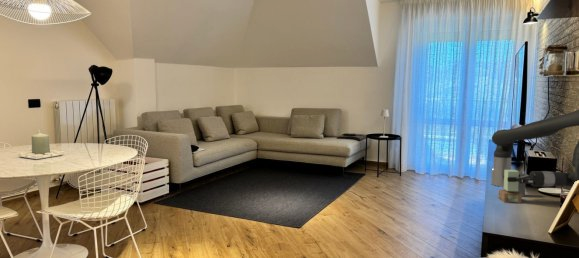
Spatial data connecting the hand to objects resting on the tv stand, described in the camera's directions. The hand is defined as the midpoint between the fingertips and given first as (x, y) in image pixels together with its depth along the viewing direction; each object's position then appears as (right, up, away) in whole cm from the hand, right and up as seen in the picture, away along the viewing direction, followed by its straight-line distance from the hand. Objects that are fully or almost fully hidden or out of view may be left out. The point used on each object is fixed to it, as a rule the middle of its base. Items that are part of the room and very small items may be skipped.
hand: (505, 178), depth 202 cm
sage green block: (+3, -6, 0) cm, 7 cm away
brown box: (+3, -12, +2) cm, 12 cm away
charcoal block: (+13, -11, +11) cm, 20 cm away
